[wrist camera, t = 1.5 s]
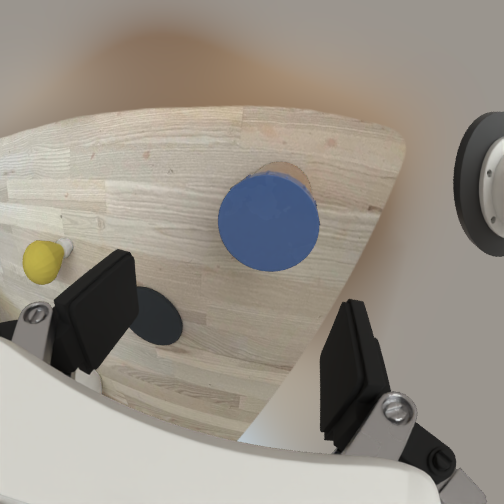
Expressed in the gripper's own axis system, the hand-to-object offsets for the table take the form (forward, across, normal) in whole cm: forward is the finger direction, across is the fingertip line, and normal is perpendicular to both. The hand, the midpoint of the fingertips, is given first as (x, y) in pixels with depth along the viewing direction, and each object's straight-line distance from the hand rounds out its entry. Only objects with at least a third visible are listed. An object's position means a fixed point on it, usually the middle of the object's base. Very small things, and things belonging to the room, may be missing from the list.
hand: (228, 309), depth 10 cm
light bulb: (+21, +32, +13) cm, 40 cm away
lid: (+10, 0, 0) cm, 10 cm away
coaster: (+21, +16, +22) cm, 34 cm away
